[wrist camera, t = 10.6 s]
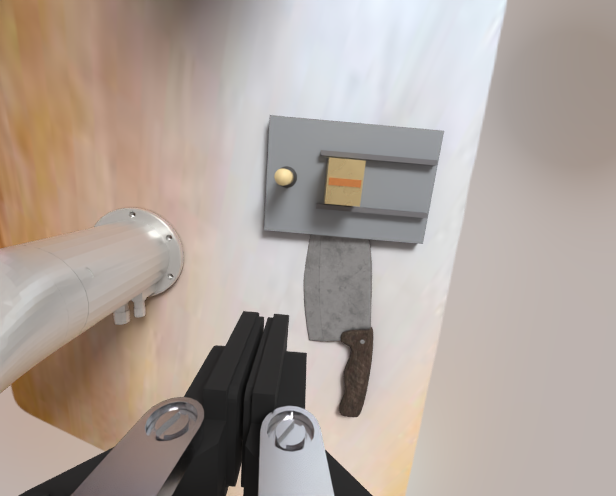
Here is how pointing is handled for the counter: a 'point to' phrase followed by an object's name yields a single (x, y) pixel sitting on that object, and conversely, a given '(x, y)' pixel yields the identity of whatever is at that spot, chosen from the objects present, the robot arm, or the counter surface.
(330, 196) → the cardboard box
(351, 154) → the bolt plate
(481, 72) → the counter surface
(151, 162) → the counter surface
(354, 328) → the cleaver
